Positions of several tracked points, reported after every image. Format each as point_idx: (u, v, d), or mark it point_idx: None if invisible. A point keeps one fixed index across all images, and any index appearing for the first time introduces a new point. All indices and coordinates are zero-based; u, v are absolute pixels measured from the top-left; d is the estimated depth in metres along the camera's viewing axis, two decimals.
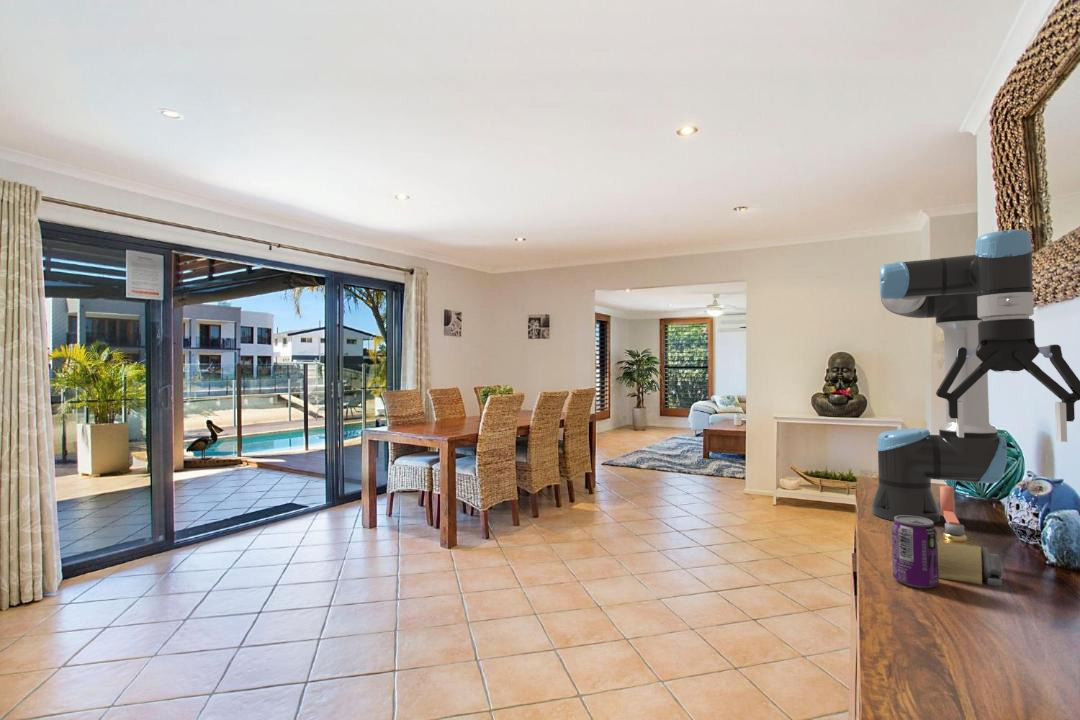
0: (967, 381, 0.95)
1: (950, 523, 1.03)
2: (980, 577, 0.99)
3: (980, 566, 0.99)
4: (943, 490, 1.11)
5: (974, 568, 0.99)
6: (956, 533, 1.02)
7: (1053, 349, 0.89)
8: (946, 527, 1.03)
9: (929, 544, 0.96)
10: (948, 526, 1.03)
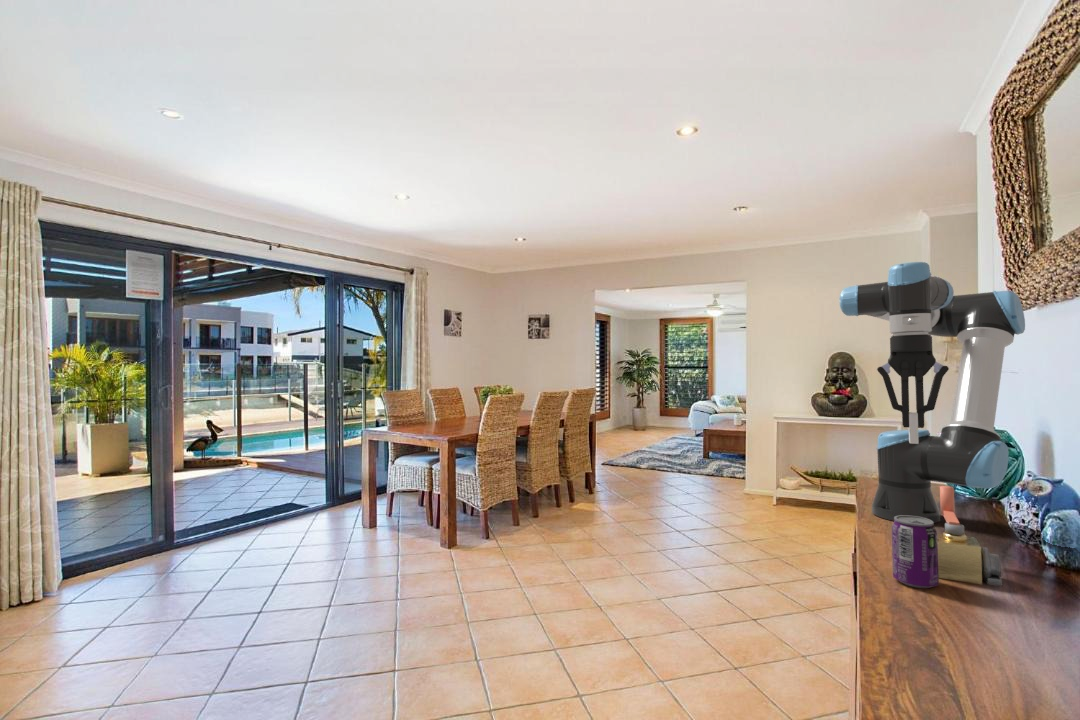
0: (903, 393, 1.14)
1: (950, 523, 1.03)
2: (980, 577, 0.99)
3: (980, 566, 0.99)
4: (943, 490, 1.11)
5: (974, 568, 0.99)
6: (956, 533, 1.02)
7: (942, 368, 1.11)
8: (946, 527, 1.03)
9: (929, 544, 0.96)
10: (948, 526, 1.03)
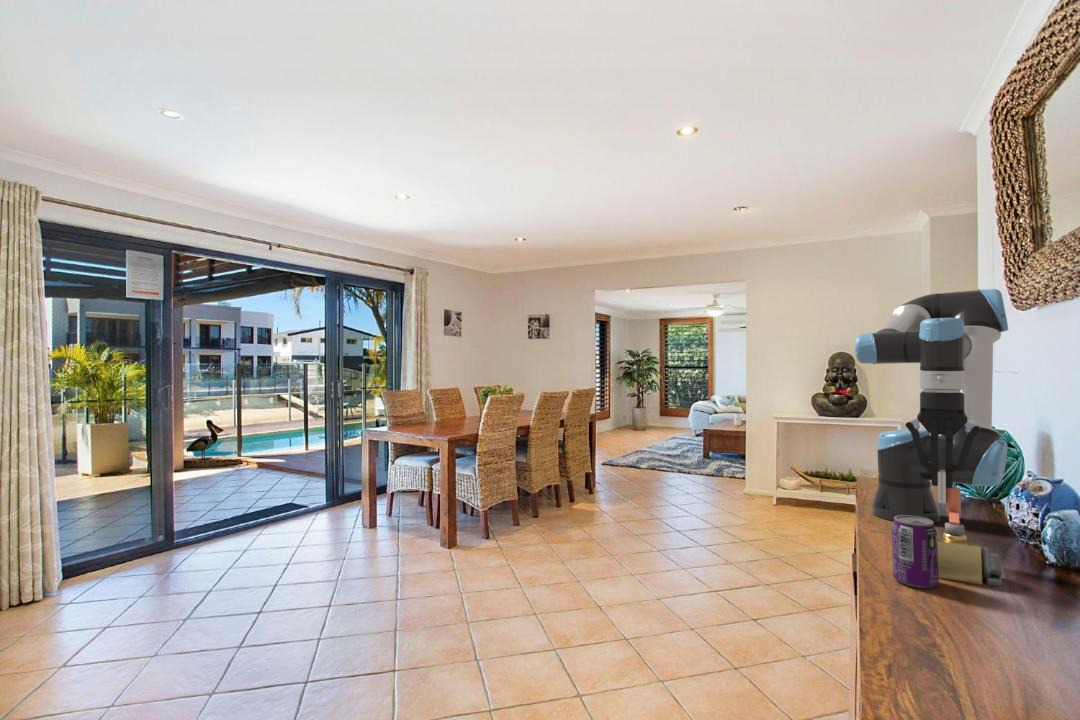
0: (932, 451, 1.12)
1: (950, 523, 1.03)
2: (980, 577, 0.99)
3: (980, 566, 0.99)
4: (949, 491, 1.11)
5: (974, 568, 0.99)
6: (955, 533, 1.02)
7: (974, 429, 1.07)
8: (946, 527, 1.03)
9: (929, 544, 0.96)
10: (947, 526, 1.03)
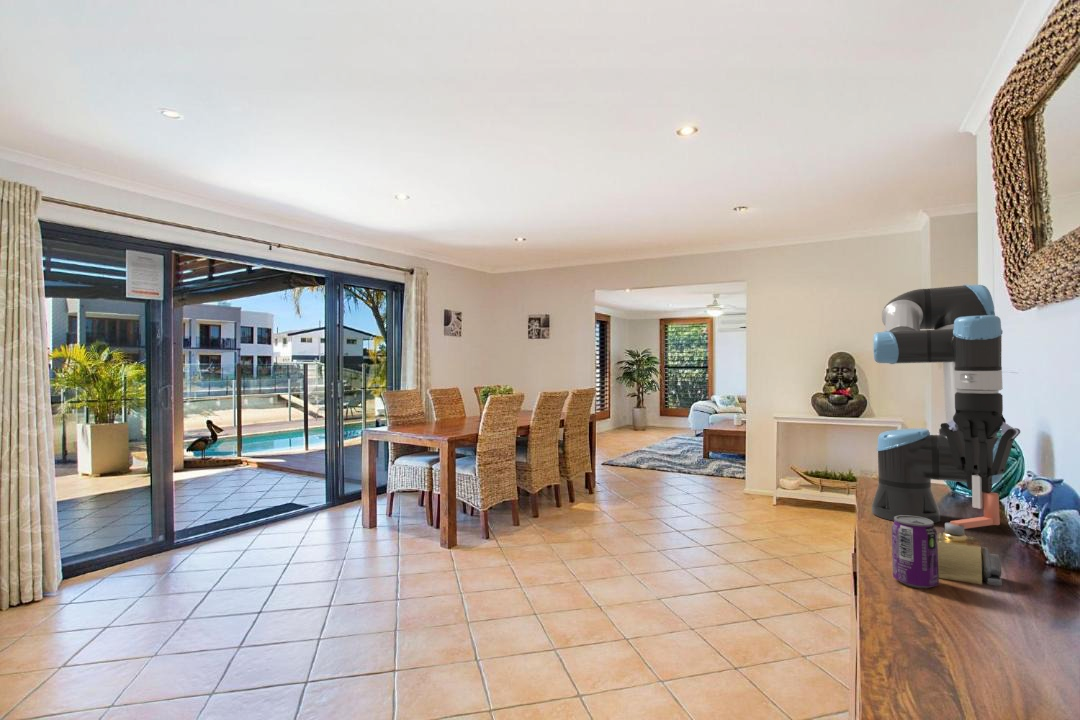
0: (966, 453, 1.08)
1: (951, 523, 1.04)
2: (980, 577, 0.99)
3: (980, 566, 0.99)
4: (983, 496, 1.06)
5: (974, 568, 0.99)
6: (949, 532, 1.03)
7: (1007, 431, 1.02)
8: (945, 525, 1.04)
9: (929, 544, 0.96)
10: (945, 524, 1.04)
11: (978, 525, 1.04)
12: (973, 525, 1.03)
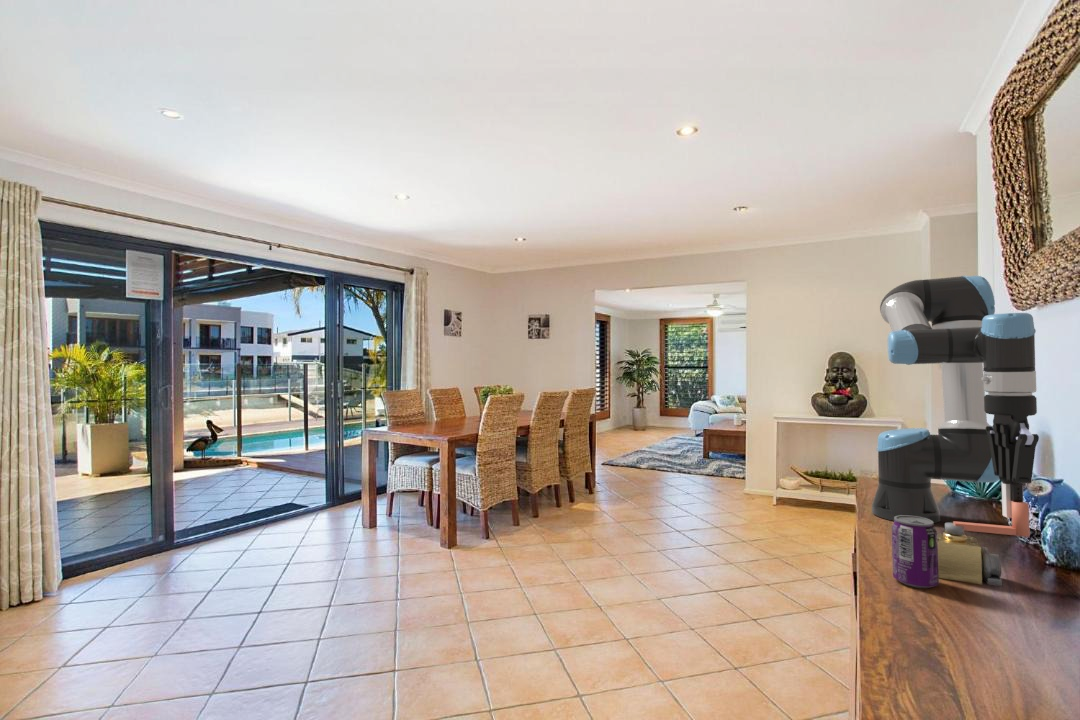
0: (999, 458, 1.03)
1: (953, 522, 1.04)
2: (980, 577, 0.99)
3: (980, 566, 0.99)
4: None
5: (974, 568, 0.99)
6: (945, 530, 1.04)
7: (1019, 436, 0.96)
8: None
9: (929, 544, 0.96)
10: None
11: (989, 531, 1.00)
12: (980, 529, 1.01)
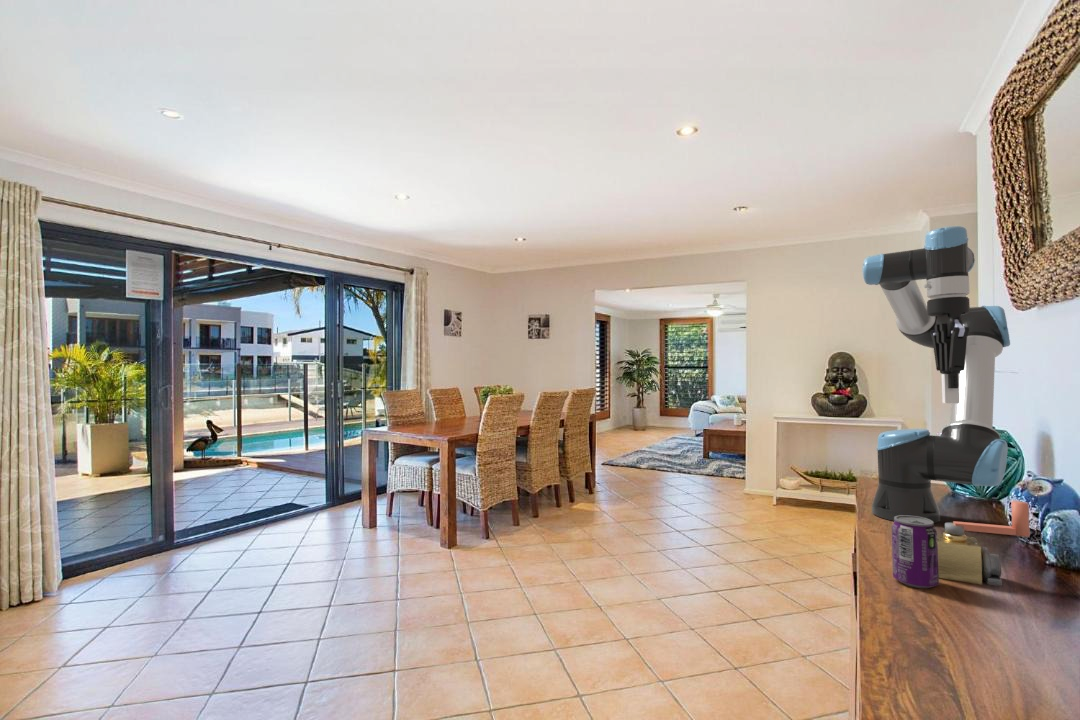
0: (939, 355, 1.20)
1: (953, 522, 1.04)
2: (980, 577, 0.99)
3: (980, 566, 0.99)
4: None
5: (974, 568, 0.99)
6: (945, 530, 1.04)
7: (953, 330, 1.13)
8: None
9: (929, 544, 0.96)
10: None
11: (989, 531, 1.00)
12: (980, 529, 1.01)
